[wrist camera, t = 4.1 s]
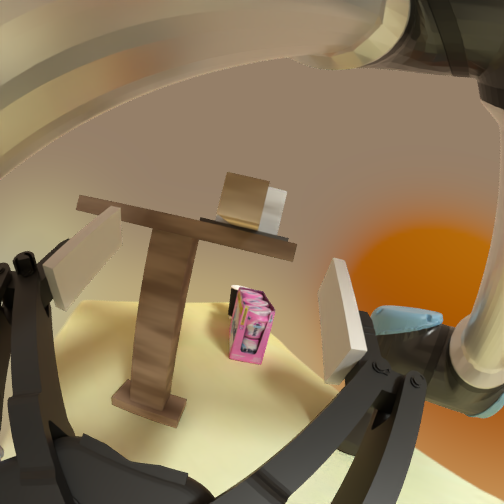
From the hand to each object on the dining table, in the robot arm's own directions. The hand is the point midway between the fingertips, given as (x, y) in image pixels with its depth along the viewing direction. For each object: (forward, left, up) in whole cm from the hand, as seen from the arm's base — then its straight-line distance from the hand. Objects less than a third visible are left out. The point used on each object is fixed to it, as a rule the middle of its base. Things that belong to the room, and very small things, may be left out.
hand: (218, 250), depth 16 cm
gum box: (-49, -22, -26) cm, 60 cm away
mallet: (-12, -6, +2) cm, 14 cm away
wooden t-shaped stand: (-13, -16, -26) cm, 34 cm away
